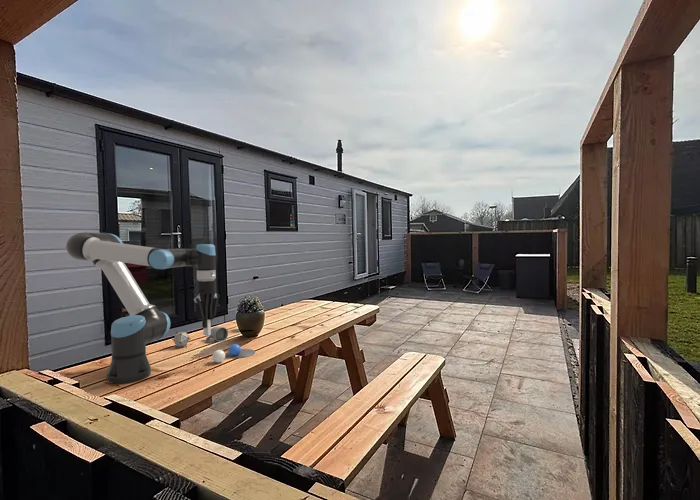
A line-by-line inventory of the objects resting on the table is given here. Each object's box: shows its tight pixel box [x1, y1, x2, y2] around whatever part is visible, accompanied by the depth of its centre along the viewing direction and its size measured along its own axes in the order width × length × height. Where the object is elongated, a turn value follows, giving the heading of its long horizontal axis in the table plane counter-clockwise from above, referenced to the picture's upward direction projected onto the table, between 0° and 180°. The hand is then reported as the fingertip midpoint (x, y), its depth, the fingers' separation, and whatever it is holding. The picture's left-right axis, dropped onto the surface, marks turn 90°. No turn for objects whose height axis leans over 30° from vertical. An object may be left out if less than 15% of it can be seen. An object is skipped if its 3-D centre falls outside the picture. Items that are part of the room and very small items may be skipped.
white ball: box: [212, 349, 226, 363], centre depth 160 cm, size 6×6×6 cm
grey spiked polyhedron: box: [171, 330, 191, 349], centre depth 184 cm, size 9×8×10 cm
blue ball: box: [228, 343, 242, 356], centre depth 169 cm, size 6×6×6 cm
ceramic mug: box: [205, 326, 229, 344], centre depth 195 cm, size 11×8×8 cm
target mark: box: [224, 348, 256, 359], centre depth 172 cm, size 14×14×1 cm
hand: (207, 334), depth 154 cm, fingers closed
